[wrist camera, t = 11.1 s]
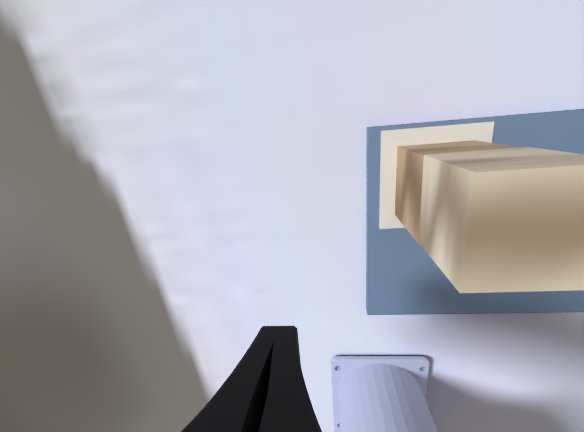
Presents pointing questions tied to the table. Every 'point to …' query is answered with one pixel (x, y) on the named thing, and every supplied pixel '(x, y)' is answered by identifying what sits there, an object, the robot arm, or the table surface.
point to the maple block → (505, 219)
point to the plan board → (411, 256)
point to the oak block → (412, 174)
